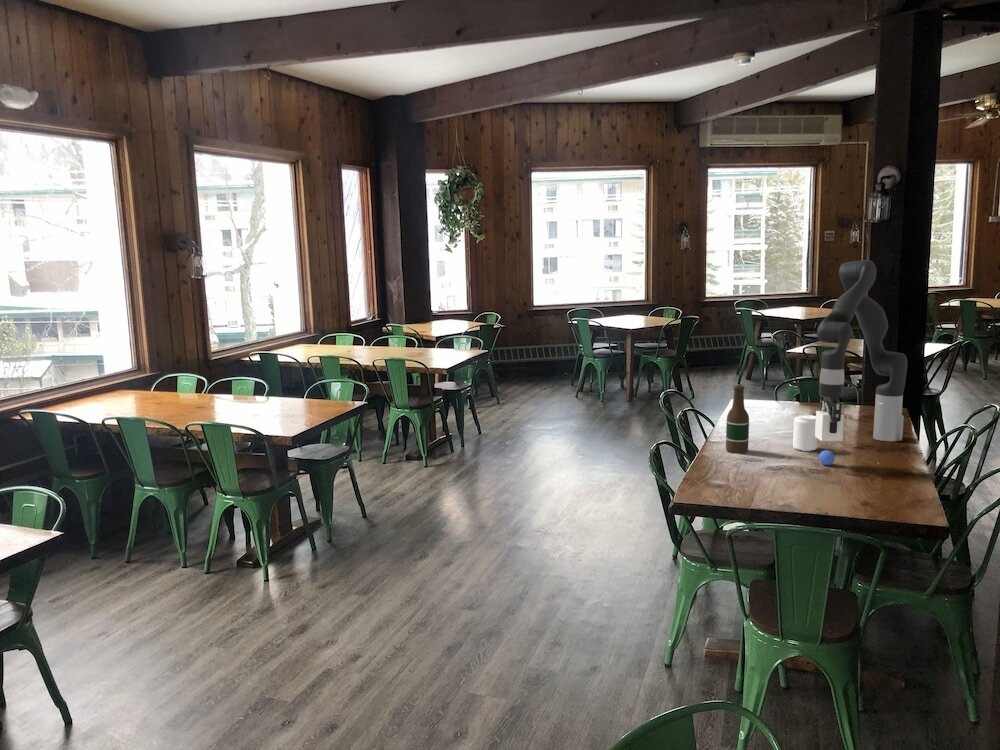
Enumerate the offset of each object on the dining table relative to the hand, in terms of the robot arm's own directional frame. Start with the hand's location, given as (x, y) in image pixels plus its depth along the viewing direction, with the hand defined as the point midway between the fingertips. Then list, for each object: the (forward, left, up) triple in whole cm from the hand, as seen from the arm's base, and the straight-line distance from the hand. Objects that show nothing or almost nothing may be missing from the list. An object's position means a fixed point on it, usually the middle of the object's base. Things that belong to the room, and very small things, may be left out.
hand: (829, 430), depth 271 cm
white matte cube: (0, 0, -3) cm, 3 cm away
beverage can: (+1, -21, -12) cm, 24 cm away
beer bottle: (+26, -18, -12) cm, 34 cm away
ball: (0, 0, -9) cm, 9 cm away
